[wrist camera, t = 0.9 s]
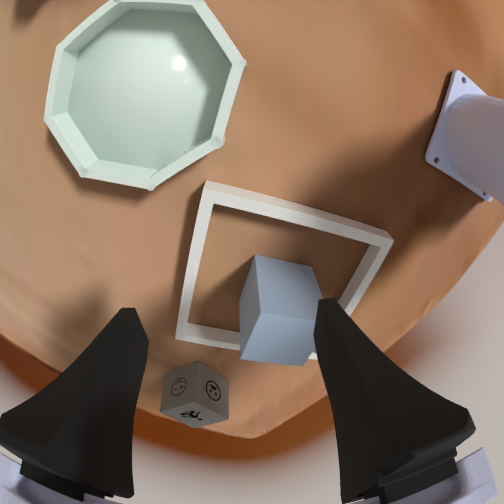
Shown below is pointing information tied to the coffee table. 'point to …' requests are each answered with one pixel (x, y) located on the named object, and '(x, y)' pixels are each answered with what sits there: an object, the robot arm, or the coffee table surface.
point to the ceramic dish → (142, 90)
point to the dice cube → (195, 395)
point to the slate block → (278, 312)
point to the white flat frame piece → (286, 212)
